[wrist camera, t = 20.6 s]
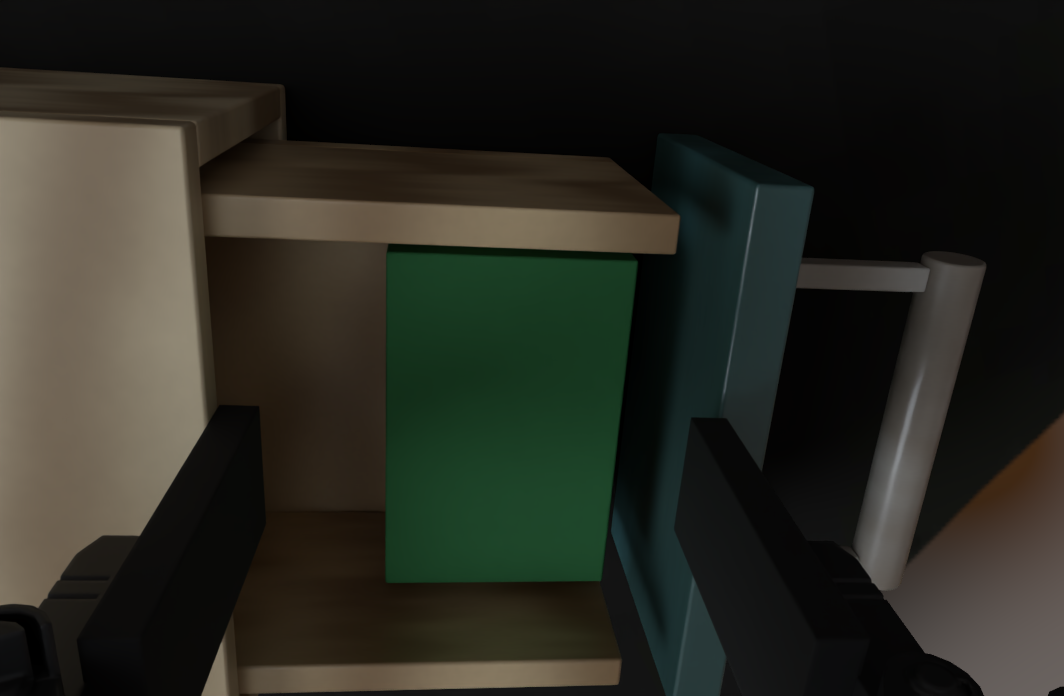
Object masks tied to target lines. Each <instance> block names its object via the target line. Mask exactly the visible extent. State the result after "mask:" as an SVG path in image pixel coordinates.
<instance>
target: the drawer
mask: <svg viewBox="0 0 1064 696" xmlns="http://www.w3.org/2000/svg"><path fill="white" fill-rule="evenodd" d="M199 172H200V185H201V198H202V211H203V225H204V238H205V251H206V264H207V277H208V291H209V304H210V317H211V330H212V343H213V357H214V370H215V383H216V396H217V408H218V406H219V405H244V406H259V409H260V426H261V444H262V461H263V478H264V495H265V513H266V526H265V528H264V531H263V534H262V536H261V539H260V542H259V544H258V547H257V550H256V552H255V555H254V557H253V560H252V563H251V565H250V568H249V571H248V573H247V576H246V579H245V581H244V584H243V587H242V589H241V592H240V595H239V597H238V600H237V602H236V605H235V608H234V610H233V621H234V634H235V647H236V661H237V674H238V687H239V694H251V693H293V692H335V691H377V690H419V689H461V688H503V687H544V686H586V685H617V684H618V683H619V679H620V672H621V664H622V659H621V655H620V652H619V648H618V645H617V641H616V638H615V634H614V631H613V627H612V623H611V620H610V616H609V613H608V609H607V606H606V602H605V599H604V595H603V592H602V588H601V585H600V581H554V582H448V583H386V581H385V466H386V252H387V248H388V244H415V245H440V246H466V247H491V248H517V249H542V250H568V251H593V252H619V253H644V255H643V263H642V272H641V280H640V289H639V297H638V306H637V314H636V323H635V331H634V340H633V348H632V357H631V365H630V374H629V382H628V391H627V399H626V408H625V416H624V425H623V433H622V442H621V450H620V459H619V467H618V476H617V484H616V493H615V501H614V510H613V519H612V527H611V533H612V536H613V539H614V542H615V545H616V548H617V551H618V554H619V557H620V560H621V563H622V566H623V569H624V572H625V575H626V578H627V581H628V584H629V587H630V590H631V593H632V595H633V598H634V601H635V604H636V607H637V610H638V613H639V616H640V619H641V622H642V625H643V628H644V631H645V634H646V637H647V640H648V643H649V646H650V649H651V652H652V655H653V658H654V661H655V664H656V667H657V670H658V673H659V676H660V679H661V682H662V685H663V688H664V691H665V694H666V696H720V691H721V686H722V680H723V675H724V670H725V664H726V659H727V657H726V655H725V653H724V650H723V648H722V645H721V643H720V640H719V638H718V636H717V633H716V631H715V628H714V626H713V623H712V621H711V619H710V616H709V614H708V611H707V609H706V606H705V604H704V602H703V599H702V597H701V594H700V592H699V589H698V587H697V585H696V582H695V580H694V577H693V575H692V572H691V570H690V568H689V565H688V563H687V560H686V558H685V555H684V553H683V551H682V548H681V546H680V543H679V541H678V538H677V536H676V534H675V531H674V524H675V517H676V511H677V504H678V498H679V492H680V485H681V479H682V472H683V466H684V459H685V453H686V447H687V440H688V434H689V427H690V421H691V417H700V418H727V419H728V421H729V422H730V424H731V426H732V427H733V429H734V430H735V432H736V433H737V435H738V436H739V438H740V439H741V441H742V442H743V444H744V445H745V447H746V449H747V450H748V452H749V453H750V455H751V456H752V458H753V459H754V461H755V462H756V464H757V465H758V467H759V468H760V470H761V472H762V467H763V462H764V457H765V451H766V446H767V441H768V435H769V430H770V425H771V419H772V414H773V409H774V403H775V398H776V393H777V388H778V382H779V377H780V372H781V366H782V361H783V356H784V350H785V345H786V340H787V334H788V329H789V324H790V318H791V313H792V308H793V302H794V297H795V292H796V288H810V289H838V290H867V291H896V292H913V295H912V299H911V303H910V307H909V311H908V316H907V320H906V324H905V328H904V332H903V336H902V341H901V345H900V349H899V353H898V357H897V361H896V365H895V370H894V374H893V378H892V382H891V386H890V390H889V395H888V399H887V403H886V407H885V411H884V415H883V419H882V424H881V428H880V432H879V436H878V440H877V444H876V449H875V453H874V457H873V461H872V465H871V469H870V474H869V478H868V482H867V486H866V490H865V494H864V498H863V503H862V507H861V511H860V515H859V519H858V523H857V528H856V532H855V536H854V540H853V544H852V548H851V547H850V546H840V547H841V548H843V549H844V550H845V551H847V552H848V553H850V554H851V555H852V556H854V557H855V558H856V559H857V560H858V561H859V563H860V564H861V565H862V567H863V568H864V569H865V571H866V572H867V574H868V575H869V576H870V578H871V579H872V580H871V581H872V583H875V585H876V586H877V587H878V589H879V590H883V591H887V590H893V589H896V588H897V587H898V586H899V585H900V584H901V581H902V577H903V573H904V570H905V566H906V562H907V559H908V555H909V551H910V548H911V544H912V540H913V536H914V533H915V529H916V525H917V522H918V518H919V514H920V511H921V507H922V503H923V499H924V496H925V492H926V488H927V485H928V481H929V477H930V474H931V470H932V466H933V463H934V459H935V455H936V451H937V448H938V444H939V440H940V437H941V433H942V429H943V426H944V422H945V418H946V414H947V411H948V407H949V403H950V400H951V396H952V392H953V389H954V385H955V381H956V377H957V374H958V370H959V366H960V363H961V359H962V355H963V352H964V348H965V344H966V340H967V337H968V333H969V329H970V326H971V322H972V318H973V315H974V311H975V307H976V303H977V300H978V296H979V292H980V289H981V285H982V281H983V278H984V274H985V270H986V263H985V262H984V261H982V260H980V259H978V258H975V257H972V256H968V255H964V254H959V253H952V252H943V251H932V252H926V253H924V254H923V255H922V257H921V262H920V264H919V263H917V262H896V261H871V260H845V259H820V258H802V254H803V249H804V244H805V238H806V233H807V228H808V222H809V217H810V212H811V206H812V201H813V196H814V187H812V186H810V185H808V184H806V183H803V182H801V181H799V180H797V179H794V178H792V177H790V176H788V175H785V174H783V173H781V172H779V171H776V170H774V169H772V168H770V167H767V166H765V165H763V164H761V163H758V162H756V161H754V160H752V159H749V158H747V157H745V156H743V155H740V154H738V153H736V152H734V151H732V150H729V149H727V148H725V147H723V146H720V145H718V144H716V143H714V142H711V141H709V140H707V139H705V138H702V137H700V136H698V135H687V134H670V133H660V134H658V136H657V144H656V153H655V161H654V170H653V178H652V187H651V191H649V190H648V189H647V188H646V187H644V186H643V185H642V184H641V183H640V182H638V181H637V180H636V179H635V178H633V177H632V176H631V175H630V174H628V173H627V172H626V171H625V170H623V169H622V168H621V167H620V166H619V165H617V164H616V163H615V162H614V161H613V160H611V159H610V158H608V157H589V156H570V155H551V154H532V153H514V152H495V151H476V150H457V149H438V148H419V147H400V146H382V145H363V144H344V143H325V142H306V141H287V140H268V139H250V138H246V139H244V140H243V141H241V142H239V143H238V144H236V145H235V146H233V147H231V148H230V149H228V150H226V151H225V152H223V153H221V154H220V155H218V156H217V157H215V158H213V159H212V160H210V161H208V162H207V163H205V164H203V165H202V166H200V167H199Z"/></svg>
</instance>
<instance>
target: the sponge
mask: <svg viewBox="0 0 1064 696" xmlns="http://www.w3.org/2000/svg"><path fill="white" fill-rule="evenodd" d="M637 270H638V261H637V260H636V258H635V257H634V256H633V255H632V254H631V253H619V252H593V251H568V250H542V249H517V248H491V247H466V246H440V245H415V244H388V248H387V252H386V466H385V581H386V583H448V582H554V581H601V580H602V575H603V567H604V558H605V549H606V540H607V532H608V523H609V514H610V506H611V497H612V488H613V479H614V471H615V462H616V453H617V445H618V436H619V427H620V418H621V410H622V401H623V392H624V384H625V375H626V366H627V358H628V349H629V340H630V331H631V323H632V314H633V305H634V297H635V288H636V279H637Z"/></svg>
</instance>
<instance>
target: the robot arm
mask: <svg viewBox="0 0 1064 696" xmlns="http://www.w3.org/2000/svg"><path fill="white" fill-rule="evenodd" d="M265 526H266V513H265V495H264V478H263V461H262V444H261V426H260V409H259V406H244V405H219V406H218V408H217V410H216V411H215V413H214V415H213V416H212V418H211V420H210V421H209V423H208V424H207V426H206V428H205V429H204V431H203V433H202V434H201V436H200V438H199V439H198V441H197V442H196V444H195V446H194V447H193V449H192V451H191V452H190V454H189V456H188V457H187V459H186V461H185V462H184V464H183V465H182V467H181V469H180V470H179V472H178V474H177V475H176V477H175V479H174V480H173V482H172V483H171V485H170V487H169V488H168V490H167V492H166V493H165V495H164V497H163V498H162V500H161V502H160V503H159V505H158V506H157V508H156V510H155V511H154V513H153V515H152V516H151V518H150V520H149V521H148V523H147V524H146V526H145V528H144V529H143V531H142V533H141V534H140V536H133V535H102V536H101V537H99V538H98V539H97V540H95V541H94V542H92V543H91V544H90V545H88V546H87V547H85V548H84V549H82V550H81V551H80V552H78V553H77V554H76V555H75V556H74V558H73V559H72V560H71V562H70V563H69V565H68V566H67V567H66V569H65V570H64V572H63V573H62V575H61V576H60V580H57V582H56V583H55V584H54V586H53V587H52V589H51V590H50V592H49V593H48V597H47V599H44V600H43V601H42V603H41V604H40V606H39V607H38V608H37V607H35V606H33V605H23V604H6V605H0V696H201V695H202V692H203V690H204V687H205V684H206V682H207V679H208V677H209V674H210V671H211V669H212V666H213V663H214V661H215V658H216V655H217V653H218V650H219V647H220V645H221V642H222V639H223V637H224V634H225V632H226V629H227V626H228V624H229V621H230V618H231V616H232V613H233V610H234V608H235V605H236V602H237V600H238V597H239V595H240V592H241V589H242V587H243V584H244V581H245V579H246V576H247V573H248V571H249V568H250V565H251V563H252V560H253V557H254V555H255V552H256V550H257V547H258V544H259V542H260V539H261V536H262V534H263V531H264V528H265ZM674 531H675V534H676V536H677V538H678V541H679V543H680V546H681V548H682V551H683V553H684V555H685V558H686V560H687V563H688V565H689V568H690V570H691V572H692V575H693V577H694V580H695V582H696V585H697V587H698V589H699V592H700V594H701V597H702V599H703V602H704V604H705V606H706V609H707V611H708V614H709V616H710V619H711V621H712V623H713V626H714V628H715V631H716V633H717V636H718V638H719V640H720V643H721V645H722V648H723V650H724V653H725V655H726V657H727V660H728V662H729V665H730V667H731V670H732V672H733V674H734V677H735V679H736V682H737V684H738V687H739V689H740V691H741V694H742V696H984V695H983V692H982V690H981V688H980V686H979V685H978V684H977V683H976V682H975V681H974V680H973V679H972V678H971V677H970V676H969V674H968V673H966V672H965V671H963V670H962V669H960V668H959V667H957V666H956V665H954V664H953V663H951V662H949V661H946V660H944V659H942V658H939V657H937V656H934V655H931V654H926V653H924V651H923V650H922V648H921V647H920V646H919V644H918V643H917V641H916V640H915V639H914V637H913V636H912V635H911V633H910V632H909V630H908V629H907V628H906V626H905V625H904V623H903V622H902V621H901V619H900V618H899V617H898V615H897V614H896V613H895V611H894V610H893V608H892V607H891V605H890V604H889V603H888V601H887V600H884V599H883V594H882V593H881V592H880V590H879V589H878V587H877V586H876V585H875V583H872V581H871V580H872V579H871V578H870V576H869V575H868V574H867V572H866V571H865V569H864V568H863V567H862V565H861V564H860V563H859V561H858V560H857V559H856V558H855V557H854V556H852V555H851V554H850V553H848V552H847V551H845V550H844V549H843V548H841V547H840V546H839V545H837V544H836V543H835V542H833V541H807V540H806V539H805V537H804V536H803V534H802V533H801V531H800V530H799V528H798V527H797V525H796V524H795V522H794V521H793V519H792V517H791V516H790V514H789V513H788V511H787V510H786V508H785V507H784V505H783V504H782V502H781V501H780V499H779V498H778V496H777V494H776V493H775V491H774V490H773V488H772V487H771V485H770V484H769V482H768V481H767V479H766V478H765V476H764V475H763V473H762V472H761V470H760V468H759V467H758V465H757V464H756V462H755V461H754V459H753V458H752V456H751V455H750V453H749V452H748V450H747V449H746V447H745V445H744V444H743V442H742V441H741V439H740V438H739V436H738V435H737V433H736V432H735V430H734V429H733V427H732V426H731V424H730V422H729V421H728V419H727V418H700V417H691V421H690V427H689V434H688V440H687V447H686V453H685V459H684V466H683V472H682V479H681V485H680V492H679V498H678V504H677V511H676V517H675V524H674ZM1048 696H1064V687H1059V688H1057V689H1055V690H1052V691H1050V692H1049V694H1048Z"/></svg>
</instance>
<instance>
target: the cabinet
mask: <svg viewBox="0 0 1064 696" xmlns="http://www.w3.org/2000/svg"><path fill="white" fill-rule="evenodd" d="M246 138H250V139H268V140H287V130H286V103H285V87H284V86H283V85H281V84H266V83H250V82H234V81H217V80H201V79H184V78H168V77H151V76H135V75H118V74H102V73H86V72H69V71H53V70H36V69H20V68H3V67H0V605H6V604H23V605H33V606H35V607H37V608H38V607H39V606H40V604H41V603H42V601H43V600H44V599H47V597H48V593H49V592H50V590H51V589H52V587H53V586H54V584H55V583H56V582H57V580H60V576H61V575H62V573H63V572H64V570H65V569H66V567H67V566H68V565H69V563H70V562H71V560H72V559H73V558H74V556H75V555H76V554H77V553H78V552H80V551H81V550H82V549H84V548H85V547H87V546H88V545H90V544H91V543H92V542H94V541H95V540H97V539H98V538H99V537H101V536H102V535H133V536H140V534H141V533H142V531H143V529H144V528H145V526H146V524H147V523H148V521H149V520H150V518H151V516H152V515H153V513H154V511H155V510H156V508H157V506H158V505H159V503H160V502H161V500H162V498H163V497H164V495H165V493H166V492H167V490H168V488H169V487H170V485H171V483H172V482H173V480H174V479H175V477H176V475H177V474H178V472H179V470H180V469H181V467H182V465H183V464H184V462H185V461H186V459H187V457H188V456H189V454H190V452H191V451H192V449H193V447H194V446H195V444H196V442H197V441H198V439H199V438H200V436H201V434H202V433H203V431H204V429H205V428H206V426H207V424H208V423H209V421H210V420H211V418H212V416H213V415H214V413H215V411H216V410H217V396H216V383H215V370H214V357H213V343H212V330H211V317H210V304H209V291H208V277H207V264H206V251H205V238H204V225H203V211H202V198H201V185H200V172H199V167H200V166H202V165H203V164H205V163H207V162H208V161H210V160H212V159H213V158H215V157H217V156H218V155H220V154H221V153H223V152H225V151H226V150H228V149H230V148H231V147H233V146H235V145H236V144H238V143H239V142H241V141H243V140H244V139H246ZM201 696H258V693H251V694H239V687H238V674H237V661H236V647H235V634H234V621H233V613H232V616H231V618H230V621H229V624H228V626H227V629H226V632H225V634H224V637H223V639H222V642H221V645H220V647H219V650H218V653H217V655H216V658H215V661H214V663H213V666H212V669H211V671H210V674H209V677H208V679H207V682H206V684H205V687H204V690H203V692H202V695H201Z"/></svg>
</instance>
